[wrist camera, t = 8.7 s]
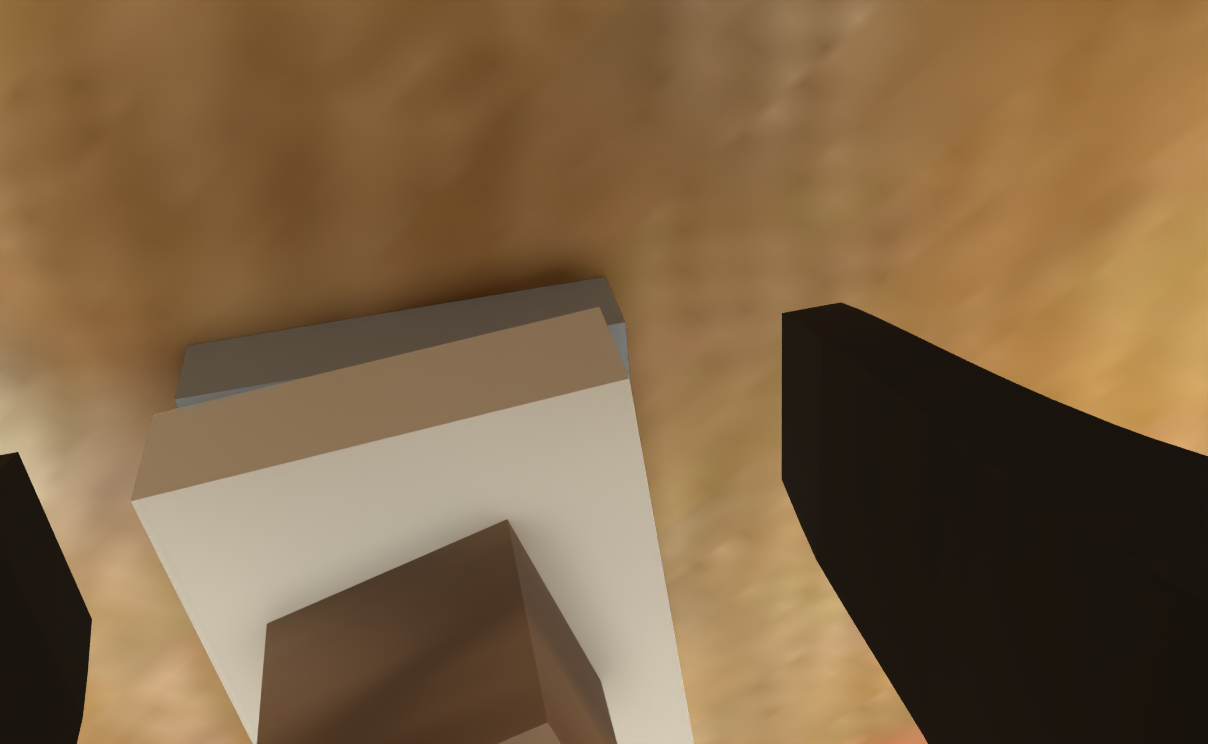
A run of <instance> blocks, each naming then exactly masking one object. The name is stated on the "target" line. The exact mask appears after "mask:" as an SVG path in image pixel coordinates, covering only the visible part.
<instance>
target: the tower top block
mask: <svg viewBox="0 0 1208 744" xmlns="http://www.w3.org/2000/svg"><path fill="white" fill-rule="evenodd" d="M131 503H132V505H133V507H134V509H135V511H136V513H137V515H138V517H139V519H140V521H141V523H142V525H143V527H144V529H145V531H146V533H147V535H148V537H149V539H150V541H151V543H152V545H153V547H154V549H155V551H156V553H157V555H158V557H159V559H160V561H161V563H162V565H163V566H164V568H165V570H166V572H167V574H168V576H169V578H170V580H171V582H172V584H173V586H174V588H175V590H176V592H177V594H178V596H179V598H180V600H181V602H182V604H183V606H184V608H185V610H186V612H187V614H188V616H189V618H190V620H191V622H192V624H193V626H194V628H195V630H196V632H197V634H198V636H199V638H200V640H201V642H202V644H203V646H204V648H205V650H206V652H207V654H208V656H209V658H210V660H211V662H212V664H213V666H214V668H215V670H216V672H217V674H218V676H219V678H220V680H221V682H222V684H223V686H224V688H225V690H226V692H227V694H228V696H229V698H230V700H231V702H232V704H233V705H234V707H235V709H236V711H237V713H238V715H239V717H240V719H241V721H242V723H243V725H244V727H245V729H246V731H247V733H248V735H249V737H250V739H251V741H252V743H253V744H257V736H258V724H259V711H260V699H261V687H262V675H263V663H264V650H265V638H266V626H267V623H270V622H272V621H274V620H276V619H279V618H281V617H283V616H286V615H288V614H290V613H293V612H295V611H297V610H299V609H302V608H304V607H306V606H309V605H311V604H313V603H316V602H318V601H320V600H322V599H325V598H327V597H329V596H332V595H334V594H336V593H339V592H341V591H343V590H345V589H348V588H350V587H352V586H355V585H357V584H359V583H362V582H364V581H366V580H368V579H371V578H373V577H375V576H378V575H380V574H382V573H385V572H387V571H389V570H391V569H394V568H396V567H398V566H401V565H403V564H405V563H408V562H410V561H412V560H414V559H417V558H419V557H421V556H424V555H426V554H428V553H431V552H433V551H435V550H437V549H440V548H442V547H444V546H447V545H449V544H451V543H454V542H456V541H458V540H460V539H463V538H465V537H467V536H470V535H472V534H474V533H476V532H479V531H481V530H483V529H486V528H488V527H490V526H493V525H495V524H497V523H499V522H502V521H504V520H506V519H508V521H509V523H510V525H511V526H512V528H513V530H514V532H515V533H516V535H517V537H518V538H519V540H520V542H521V544H522V545H523V547H524V549H525V551H526V552H527V554H528V556H529V557H530V559H531V561H532V563H533V564H534V566H535V568H536V570H537V571H538V573H539V575H540V577H541V578H542V580H543V582H544V583H545V585H546V587H547V589H548V590H549V592H550V594H551V596H552V597H553V599H554V601H555V602H556V604H557V606H558V608H559V609H560V611H561V613H562V615H563V616H564V618H565V620H566V622H567V623H568V625H569V627H570V628H571V630H572V632H573V634H574V635H575V637H576V639H577V641H578V642H579V644H580V646H581V647H582V649H583V651H584V653H585V654H586V656H587V658H588V660H589V661H590V663H591V665H592V667H593V668H594V670H595V672H596V673H597V675H598V677H599V679H600V680H601V683H602V687H603V691H604V695H605V698H606V702H607V706H608V710H609V714H610V718H611V722H612V725H613V729H614V733H615V737H616V741H617V744H694V742H693V736H692V731H691V725H690V719H689V714H688V708H687V702H686V697H685V691H684V686H683V680H682V674H681V669H680V663H679V657H678V652H677V646H676V640H675V635H674V629H673V623H672V618H671V612H670V606H669V601H668V595H667V589H666V584H665V578H664V572H663V567H662V561H661V555H660V550H659V544H658V538H657V533H656V527H655V521H654V516H653V510H652V505H651V499H650V493H649V488H648V482H647V476H646V471H645V465H644V459H643V454H642V448H641V442H640V437H639V431H638V425H637V420H636V414H635V408H634V403H633V397H632V391H631V386H630V380H629V377H628V374H627V372H626V370H625V367H624V365H623V362H622V360H621V358H620V355H619V353H618V350H617V348H616V345H615V343H614V341H613V338H612V336H611V333H610V331H609V329H608V326H607V324H606V321H605V319H604V317H603V314H602V312H601V309H600V307H596V308H592V309H588V310H583V311H579V312H575V313H571V314H567V315H563V316H559V317H554V318H550V319H546V320H542V321H538V322H534V323H529V324H525V325H521V326H517V327H513V328H509V329H505V330H500V331H496V332H492V333H488V334H484V335H480V336H475V337H471V338H467V339H463V340H459V341H455V342H450V343H446V344H442V345H438V346H434V347H430V348H426V349H421V350H417V351H413V352H409V353H405V354H401V355H396V356H392V357H388V358H384V359H380V360H376V361H372V362H367V363H363V364H359V365H355V366H351V367H347V368H342V369H338V370H334V371H330V372H326V373H322V374H318V375H313V376H310V377H306V378H302V379H297V380H293V381H289V382H285V383H281V384H277V385H272V386H268V387H264V388H260V389H256V390H252V391H248V392H243V393H239V394H235V395H231V396H227V397H223V398H218V399H214V400H210V401H206V402H202V403H198V404H193V405H189V406H185V407H181V408H176V409H172V410H168V411H164V412H160V413H155V414H153V417H152V421H151V425H150V429H149V432H148V436H147V440H146V444H145V448H144V452H143V456H142V460H141V463H140V467H139V471H138V475H137V479H136V483H135V487H134V491H133V494H132V498H131Z"/></svg>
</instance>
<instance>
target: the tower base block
mask: <svg viewBox="0 0 1208 744" xmlns="http://www.w3.org/2000/svg"><path fill="white" fill-rule="evenodd" d="M596 307H600V309H601V312H602V314H603V317H604V319H605V321H606V324H607V326H608V329H609V331H610V333H611V336H612V338H613V341H614V343H615V345H616V348H617V350H618V353H619V355H620V358H621V360H622V362H623V365H624V367H625V370H626V372H627V374H628V377H629V380H630V374H629V361H628V349H627V337H626V325H625V321H624V318H623V316H622V314H621V312H620V309H619V307H618V305H617V303H616V300H615V298H614V296H613V294H612V291H611V289H610V287H609V285H608V282H607V280H606V278H605V277H601V278H595V279H589V280H582V281H576V282H570V283H564V284H558V285H552V286H546V287H540V288H534V289H528V290H522V291H516V292H510V293H504V294H498V295H492V296H486V297H479V298H473V299H467V300H461V301H455V302H449V303H443V304H437V305H431V306H425V307H419V308H413V309H407V310H401V311H395V312H389V313H382V314H376V315H370V316H364V317H358V318H352V319H346V320H340V321H334V322H328V323H322V324H316V325H310V326H304V327H298V328H292V329H286V330H279V331H273V332H267V333H261V334H255V335H249V336H243V337H237V338H231V339H225V340H219V341H213V342H207V343H201V344H195V345H189V346H187V348H186V352H185V357H184V361H183V365H182V369H181V374H180V378H179V382H178V387H177V391H176V395H175V402H176V405H177V408H181V407H185V406H189V405H193V404H198V403H202V402H206V401H210V400H214V399H218V398H223V397H227V396H231V395H235V394H239V393H243V392H248V391H252V390H256V389H260V388H264V387H268V386H272V385H277V384H281V383H285V382H289V381H293V380H297V379H302V378H306V377H310V376H313V375H318V374H322V373H326V372H330V371H334V370H338V369H342V368H347V367H351V366H355V365H359V364H363V363H367V362H372V361H376V360H380V359H384V358H388V357H392V356H396V355H401V354H405V353H409V352H413V351H417V350H421V349H426V348H430V347H434V346H438V345H442V344H446V343H450V342H455V341H459V340H463V339H467V338H471V337H475V336H480V335H484V334H488V333H492V332H496V331H500V330H505V329H509V328H513V327H517V326H521V325H525V324H529V323H534V322H538V321H542V320H546V319H550V318H554V317H559V316H563V315H567V314H571V313H575V312H579V311H583V310H588V309H592V308H596Z"/></svg>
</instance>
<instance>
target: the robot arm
mask: <svg viewBox="0 0 1208 744" xmlns="http://www.w3.org/2000/svg"><path fill="white" fill-rule="evenodd" d="M782 481H783V483H784V486H785V488H786V491H787V493H788V495H789V498H790V500H791V503H792V505H793V507H794V510H795V512H796V515H797V517H798V519H799V522H800V524H801V527H802V529H803V531H804V533H805V535H806V538H807V540H808V542H809V544H810V547H811V549H812V551H813V553H814V555H815V558H816V560H817V562H818V563H819V565H820V567H821V568H822V570H823V572H824V574H825V575H826V577H827V579H828V580H829V582H830V584H831V585H832V587H833V589H834V590H835V592H836V594H837V595H838V597H839V599H840V600H841V602H842V604H843V605H844V607H845V609H846V610H847V612H848V614H849V615H850V617H851V618H852V620H853V622H854V623H855V625H856V627H857V628H858V630H859V632H860V633H861V635H862V636H863V638H864V640H865V641H866V643H867V645H868V646H869V648H870V649H871V651H872V653H873V654H874V656H875V658H876V659H877V661H878V662H879V664H880V666H881V667H882V669H883V671H884V672H885V674H886V675H887V677H888V679H889V680H890V682H891V684H892V685H893V687H894V688H895V690H896V692H897V693H898V695H899V697H900V698H901V700H902V701H903V703H904V705H905V706H906V708H907V710H908V711H909V713H910V714H911V716H912V718H913V719H914V721H915V723H916V724H917V726H918V727H919V729H920V731H921V732H922V734H923V736H924V737H925V739H926V741H927V743H928V744H1208V456H1205V455H1202V454H1199V453H1196V452H1193V451H1190V450H1187V449H1184V448H1180V447H1177V446H1174V445H1171V444H1168V443H1165V442H1162V441H1159V440H1156V439H1153V438H1150V437H1147V436H1144V435H1142V434H1139V433H1136V432H1133V431H1131V430H1128V429H1125V428H1122V427H1120V426H1117V425H1114V424H1112V423H1109V422H1107V421H1104V420H1102V419H1099V418H1097V417H1094V416H1092V415H1089V414H1087V413H1085V412H1082V411H1080V410H1077V409H1075V408H1072V407H1070V406H1067V405H1065V404H1062V403H1060V402H1057V401H1055V400H1052V399H1050V398H1048V397H1045V396H1043V395H1041V394H1039V393H1036V392H1034V391H1032V390H1030V389H1027V388H1025V387H1023V386H1020V385H1018V384H1016V383H1014V382H1012V381H1009V380H1007V379H1005V378H1003V377H1001V376H998V375H996V374H994V373H992V372H990V371H988V370H986V369H983V368H981V367H979V366H977V365H975V364H973V363H971V362H969V361H966V360H964V359H962V358H960V357H958V356H956V355H954V354H952V353H950V352H948V351H946V350H944V349H942V348H939V347H937V346H935V345H933V344H931V343H929V342H927V341H925V340H923V339H921V338H919V337H917V336H915V335H913V334H911V333H909V332H907V331H904V330H902V329H900V328H898V327H896V326H894V325H892V324H890V323H888V322H886V321H884V320H881V319H879V318H877V317H875V316H873V315H870V314H868V313H866V312H864V311H861V310H859V309H857V308H854V307H851V306H849V305H846V304H844V303H835V304H830V305H824V306H819V307H813V308H808V309H802V310H797V311H791V312H786V313H782ZM91 623H92V619H91V616H90V614H89V612H88V609H87V607H86V605H85V603H84V600H83V598H82V596H81V594H80V591H79V589H78V587H77V585H76V582H75V580H74V578H73V576H72V573H71V571H70V569H69V566H68V564H67V562H66V560H65V557H64V555H63V553H62V551H61V548H60V546H59V544H58V542H57V539H56V537H55V535H54V532H53V530H52V528H51V526H50V523H49V521H48V519H47V517H46V514H45V512H44V510H43V508H42V505H41V503H40V501H39V498H38V496H37V494H36V492H35V489H34V487H33V485H32V483H31V480H30V478H29V476H28V474H27V471H26V469H25V467H24V465H23V462H22V460H21V458H20V455H19V453H18V452H16V453H10V454H5V455H0V744H77V740H78V736H79V731H80V727H81V723H82V718H83V710H84V701H85V692H86V683H87V674H88V662H89V649H90V636H91Z"/></svg>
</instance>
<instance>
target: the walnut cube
mask: <svg viewBox="0 0 1208 744" xmlns="http://www.w3.org/2000/svg"><path fill="white" fill-rule="evenodd" d="M257 744H617V741H616V737H615V733H614V729H613V725H612V722H611V718H610V714H609V710H608V706H607V702H606V698H605V695H604V691H603V687H602V683H601V680H600V679H599V677H598V675H597V673H596V672H595V670H594V668H593V667H592V665H591V663H590V661H589V660H588V658H587V656H586V654H585V653H584V651H583V649H582V647H581V646H580V644H579V642H578V641H577V639H576V637H575V635H574V634H573V632H572V630H571V628H570V627H569V625H568V623H567V622H566V620H565V618H564V616H563V615H562V613H561V611H560V609H559V608H558V606H557V604H556V602H555V601H554V599H553V597H552V596H551V594H550V592H549V590H548V589H547V587H546V585H545V583H544V582H543V580H542V578H541V577H540V575H539V573H538V571H537V570H536V568H535V566H534V564H533V563H532V561H531V559H530V557H529V556H528V554H527V552H526V551H525V549H524V547H523V545H522V544H521V542H520V540H519V538H518V537H517V535H516V533H515V532H514V530H513V528H512V526H511V525H510V523H509V521H508V519H506V520H504V521H502V522H499V523H497V524H495V525H493V526H490V527H488V528H486V529H483V530H481V531H479V532H476V533H474V534H472V535H470V536H467V537H465V538H463V539H460V540H458V541H456V542H454V543H451V544H449V545H447V546H444V547H442V548H440V549H437V550H435V551H433V552H431V553H428V554H426V555H424V556H421V557H419V558H417V559H414V560H412V561H410V562H408V563H405V564H403V565H401V566H398V567H396V568H394V569H391V570H389V571H387V572H385V573H382V574H380V575H378V576H375V577H373V578H371V579H368V580H366V581H364V582H362V583H359V584H357V585H355V586H352V587H350V588H348V589H345V590H343V591H341V592H339V593H336V594H334V595H332V596H329V597H327V598H325V599H322V600H320V601H318V602H316V603H313V604H311V605H309V606H306V607H304V608H302V609H299V610H297V611H295V612H293V613H290V614H288V615H286V616H283V617H281V618H279V619H276V620H274V621H272V622H270V623H267V626H266V638H265V650H264V663H263V675H262V687H261V699H260V711H259V724H258V736H257Z"/></svg>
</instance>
